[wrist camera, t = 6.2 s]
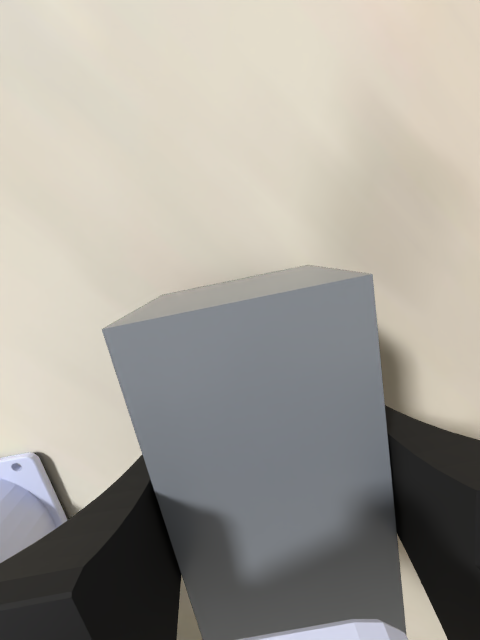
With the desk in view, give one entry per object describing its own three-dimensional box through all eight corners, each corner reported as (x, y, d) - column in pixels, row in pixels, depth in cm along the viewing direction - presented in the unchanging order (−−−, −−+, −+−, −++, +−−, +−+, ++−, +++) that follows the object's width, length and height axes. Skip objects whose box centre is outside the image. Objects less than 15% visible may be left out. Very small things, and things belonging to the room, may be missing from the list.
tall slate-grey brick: (221, 515, 14) (213, 673, 9) (162, 294, 12) (102, 329, 6) (340, 493, 14) (406, 639, 9) (307, 264, 12) (372, 273, 6)
